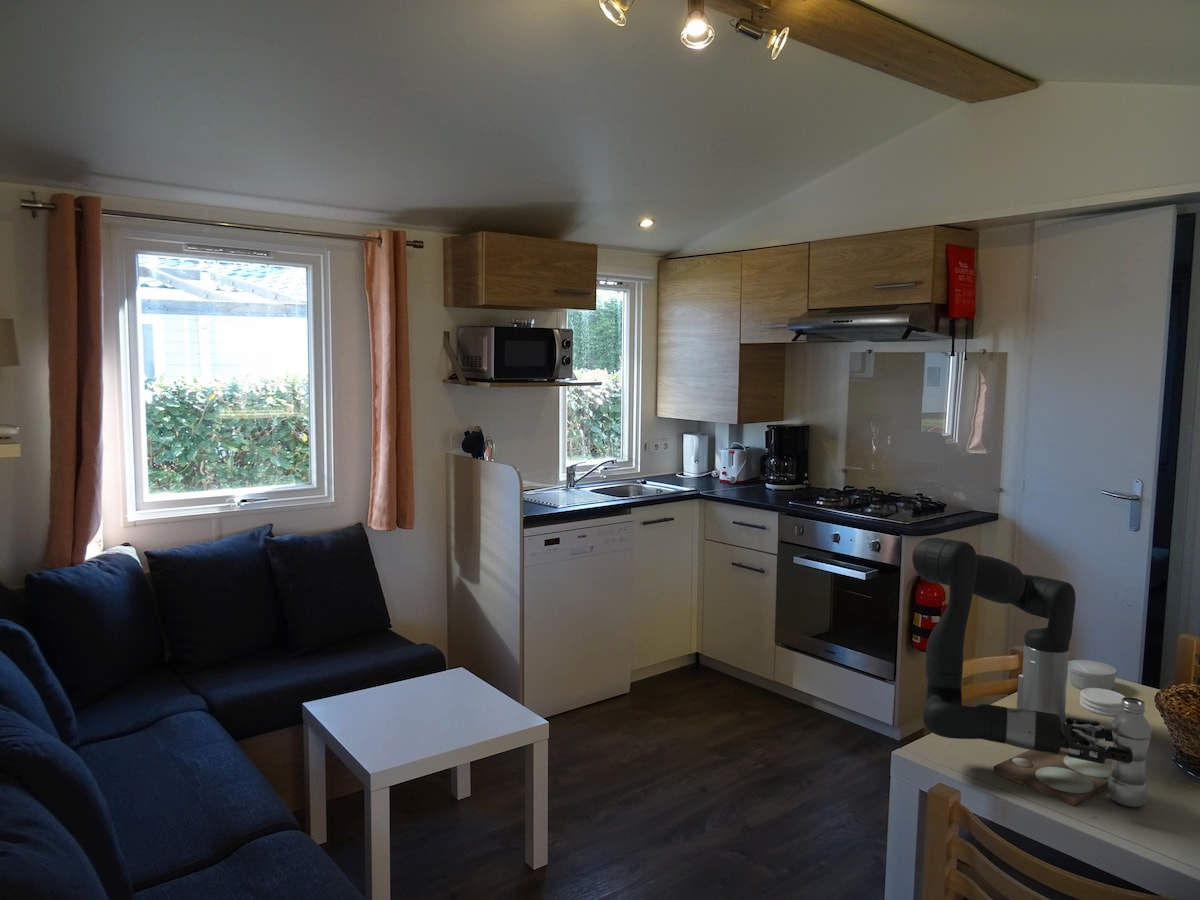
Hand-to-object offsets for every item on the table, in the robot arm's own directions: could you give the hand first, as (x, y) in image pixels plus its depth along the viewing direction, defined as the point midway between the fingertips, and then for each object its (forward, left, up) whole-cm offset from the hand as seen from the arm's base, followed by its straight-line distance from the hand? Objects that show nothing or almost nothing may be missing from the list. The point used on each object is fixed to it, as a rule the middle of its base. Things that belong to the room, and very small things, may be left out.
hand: (1129, 747), depth 156 cm
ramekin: (-34, +55, -11) cm, 66 cm away
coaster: (-25, +43, -12) cm, 51 cm away
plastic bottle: (0, 0, -11) cm, 11 cm away
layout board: (-13, +2, -11) cm, 17 cm away
